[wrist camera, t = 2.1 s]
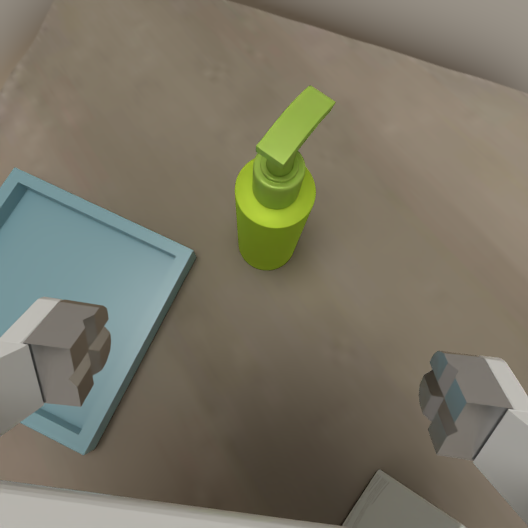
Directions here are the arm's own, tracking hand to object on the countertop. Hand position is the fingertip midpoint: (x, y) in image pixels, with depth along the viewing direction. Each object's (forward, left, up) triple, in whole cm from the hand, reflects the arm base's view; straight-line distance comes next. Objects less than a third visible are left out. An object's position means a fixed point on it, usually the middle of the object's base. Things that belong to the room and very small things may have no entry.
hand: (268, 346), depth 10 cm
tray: (-3, +20, -29) cm, 35 cm away
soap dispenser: (+12, +4, -29) cm, 32 cm away
